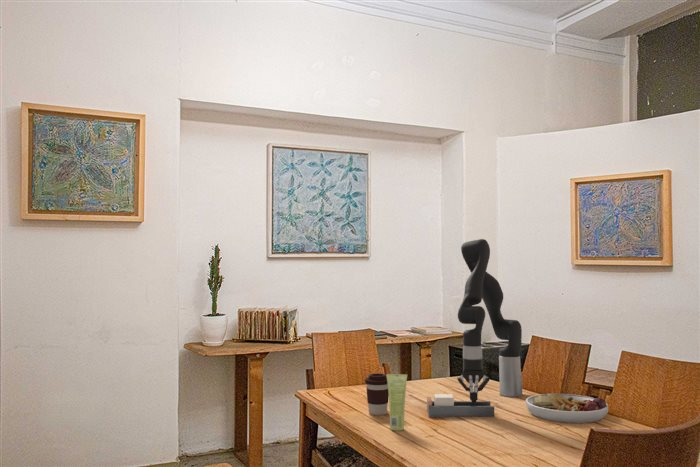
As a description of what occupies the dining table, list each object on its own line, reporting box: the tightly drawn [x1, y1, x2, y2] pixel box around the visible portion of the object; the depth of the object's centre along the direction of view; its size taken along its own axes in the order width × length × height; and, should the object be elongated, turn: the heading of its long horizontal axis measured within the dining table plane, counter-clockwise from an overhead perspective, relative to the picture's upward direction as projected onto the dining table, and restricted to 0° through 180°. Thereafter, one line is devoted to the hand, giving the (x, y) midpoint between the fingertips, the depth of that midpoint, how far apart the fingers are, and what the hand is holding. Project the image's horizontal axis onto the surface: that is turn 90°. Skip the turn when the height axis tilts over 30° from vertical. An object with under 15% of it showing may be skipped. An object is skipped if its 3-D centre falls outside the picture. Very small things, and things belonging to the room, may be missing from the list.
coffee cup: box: [364, 372, 389, 416], centre depth 237 cm, size 10×10×15 cm
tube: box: [385, 373, 408, 432], centre depth 214 cm, size 6×5×20 cm
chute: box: [426, 396, 496, 418], centre depth 233 cm, size 25×9×6 cm, turn 87°
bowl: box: [525, 392, 609, 424], centre depth 231 cm, size 30×30×8 cm
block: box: [433, 393, 455, 406], centre depth 234 cm, size 7×6×6 cm
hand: (473, 401), depth 233 cm, fingers closed
